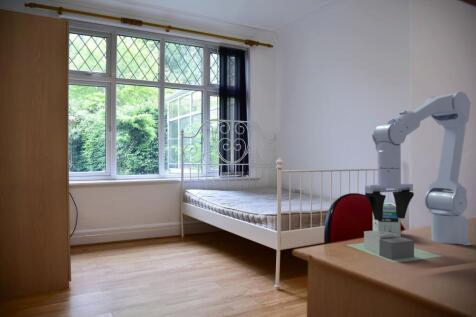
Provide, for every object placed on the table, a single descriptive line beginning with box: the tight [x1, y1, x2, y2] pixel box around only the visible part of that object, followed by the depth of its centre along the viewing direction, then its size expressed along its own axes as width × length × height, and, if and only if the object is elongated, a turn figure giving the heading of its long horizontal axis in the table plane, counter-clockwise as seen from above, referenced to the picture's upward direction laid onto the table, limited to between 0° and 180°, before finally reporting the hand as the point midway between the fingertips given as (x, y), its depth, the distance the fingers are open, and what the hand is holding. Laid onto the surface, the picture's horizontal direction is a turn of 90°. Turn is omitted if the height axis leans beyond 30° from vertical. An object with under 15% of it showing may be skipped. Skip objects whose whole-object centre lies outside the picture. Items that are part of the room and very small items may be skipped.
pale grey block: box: [363, 230, 398, 254], centre depth 92 cm, size 6×6×5 cm
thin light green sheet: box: [346, 237, 443, 264], centre depth 93 cm, size 15×18×5 cm
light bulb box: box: [372, 202, 402, 238], centre depth 112 cm, size 11×7×11 cm, turn 168°
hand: (389, 219), depth 94 cm, fingers open, 7 cm apart
